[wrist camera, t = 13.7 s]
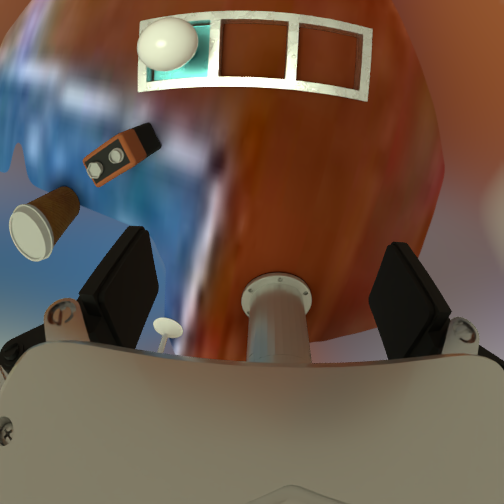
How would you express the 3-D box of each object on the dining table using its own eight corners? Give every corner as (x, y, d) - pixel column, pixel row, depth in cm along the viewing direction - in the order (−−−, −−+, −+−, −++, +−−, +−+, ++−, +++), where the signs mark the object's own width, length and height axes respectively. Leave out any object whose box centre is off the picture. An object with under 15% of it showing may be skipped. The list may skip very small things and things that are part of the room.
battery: (114, 143, 34) (76, 162, 26) (150, 120, 33) (116, 133, 24) (126, 167, 37) (92, 192, 28) (163, 147, 35) (133, 167, 27)
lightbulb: (178, 83, 30) (145, 82, 20) (155, 49, 27) (116, 38, 17) (220, 57, 28) (202, 44, 19) (196, 23, 25) (170, 0, 16)
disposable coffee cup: (86, 181, 38) (42, 215, 28) (88, 230, 43) (52, 271, 33) (47, 174, 37) (3, 203, 27) (50, 220, 42) (13, 255, 32)
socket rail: (360, 100, 30) (367, 101, 28) (145, 91, 30) (138, 92, 28) (365, 32, 24) (372, 29, 22) (147, 24, 25) (140, 21, 22)
